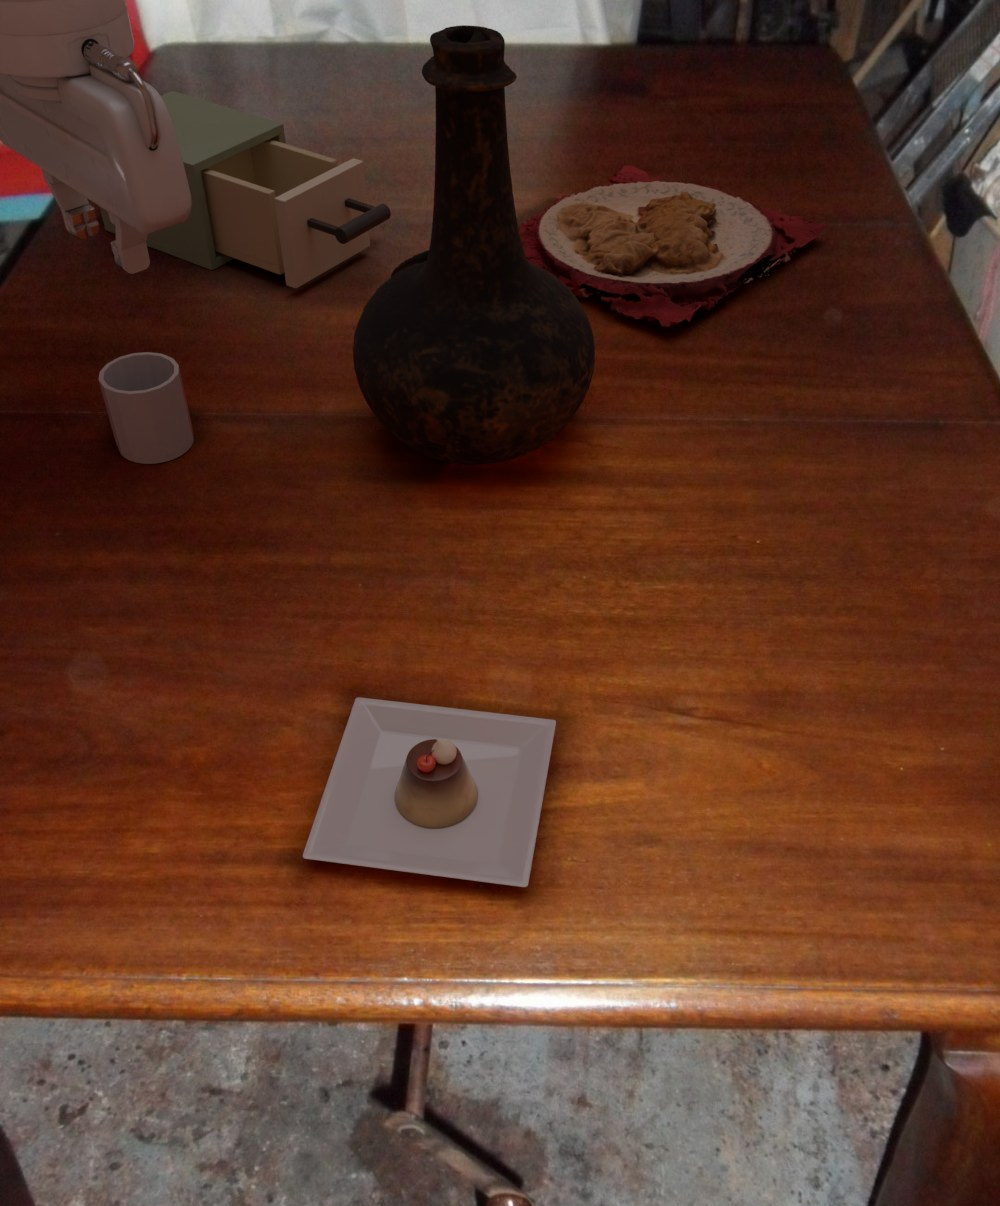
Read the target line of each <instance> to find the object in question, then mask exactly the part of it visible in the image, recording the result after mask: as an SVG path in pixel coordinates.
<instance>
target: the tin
mask: <svg viewBox="0 0 1000 1206" xmlns="http://www.w3.org/2000/svg"><path fill="white" fill-rule="evenodd" d="M181 373H182V372H181V369H180V365H179V364H178V362H177V361H176V360H175V359H174V358H173V357H171V356H169V355H166V354H165V353H158V352H151V351H145V352H134V353H129V354H125V355H121V356H119V357H117V358H115V359H112V360H111V361H109V362H107V363H106V364H105V365H104V366H103V367H102V368H101V369H100V370H99V373H98V384H99V387H100V390H101V394H102V398H103V402H104V405H105V409H106V412H107V417H108V420H109V423H110V427H111V430H112V434H113V437H114V441H115V445H116V446H117V450H118V453H119V454H120V455H121V456H122V457H123V458H124V459H126V460H127V461H130V462H133V463H136V464H142V465H155V464H161V463H166V462H170V461H173V460H175V459H177V458H179V457H181V456H183V455H184V454H185V453H187V452H189V450H190V449H191V448H192V446H193V444H194V440H195V436H194V428H193V424H192V419H191V415H190V414H191V413H190V411H189V410H190V409H189V406H188V401H187V397H186V396H187V395H186V392H185V387H184V383H183V378H182V374H181Z"/></svg>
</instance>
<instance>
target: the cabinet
mask: <svg viewBox="0 0 1000 1206" xmlns="http://www.w3.org/2000/svg"><path fill="white" fill-rule="evenodd" d="M160 96H161V98H162V99H163V101H164V103H165V105H166V107H167V110H168V112H169V115H170V118H171V121H172V124H173V127H174V130H175V134H176V137H177V141H178V145H179V149H180V152H181V156H182V160H183V164H184V168H185V172H186V176H187V180H188V185H189V189H190V194H191V199H192V207H191V211H190V215H189V217H188V219H187V220H186V221H184V222H182V223H180V224H177V225H174V226H172V227H169V228H166V229H163V230H159V231H156V232H153V233H149V234H148V237H147V242H146V245H147V247H149V248H151V249H153V250H157V251H160V252H162V253H165V254H167V255H170V256H172V257H175V258H177V259H180V260H183V261H185V262H188V263H191V264H194V265H197V266H199V267H202V268H204V269H207V270H209V271H214V270H216V269H218V268H220V267H222V266H224V265H226V264H227V263H229V262H231V261H232V260H236V259H235V258H233V257H230V256H227V255H224V254H222V253H219V252H216V251H215V248H214V242H213V237H212V231H211V226H210V220H209V215H208V209H207V203H206V198H205V192H204V187H203V181H202V176H201V171H202V170H204V169H206V168H208V167H210V166H213V165H215V164H217V163H219V162H221V161H223V160H226V159H228V158H230V157H232V156H234V155H236V154H238V153H241V152H243V151H245V150H247V149H249V148H251V147H254V146H256V145H258V144H260V143H262V142H264V141H267V140H269V139H271V140H275V141H278V142H281V143H284V144H287V142H286V141H287V140H286V135H285V127H284V126H285V125H284V123H283V122H280V121H276V120H273V119H269V118H265V117H262V116H260V115H255V114H252V113H249V112H246V111H243V110H238V109H235V108H232V107H228V106H225V105H222V104H219V103H216V102H212V101H209V100H205V99H201V98H198V97H195V96H191V95H189V94H185V93H181V92H178V91H175V90H171V91H168V92H165V93H164V94H160ZM98 208H99V211H100V214H101V215H100V216H101V218H102V223H103V226H104V230H105V231H106V232H109V233H111V234H114V235H116V228H115V224H113V223H111V221H110V218H109V214H108V211H106V210H105V209H103V208H102V207H100V206H98Z"/></svg>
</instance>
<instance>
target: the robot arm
mask: <svg viewBox="0 0 1000 1206" xmlns="http://www.w3.org/2000/svg"><path fill="white" fill-rule="evenodd" d="M132 29H133V28H132V24H131V19H130V16H129V10H128V5H127V0H0V142H1V144H3V145H4V146H6V147H7V148H9V149H10V150H13V152H15V153H16V154H18V155H20V156H22V157H23V158H25V159H26V160H28V161H29V162H31V163H32V164H34V165H35V166H37V167H39V169H41V172H42V176H43V179H44V181H45V183H46V185H47V187H48V189H49V190H50V192H51V194H52V196H53V198H54V201H55V202H56V203H57V205H58V207H59V209H60V211H61V215H62V219H63V221H64V226H65V229H66V231H67V232H68V233H69V234H71V235H73V236H74V237H76V238H77V239H79V240H86V239H88V238H91V237H95V236H97V235H98V234H99V232H100V230H101V227H100V224H99V221H98V215H97V211H96V208H95V207H94V206H93V205H91V204H90V202H89V201H91V202H92V203H94V204H95V205H97V206H98V207H99V206H100V207H102V208H103V209H105V210H106V211H108V214H109V218H110V221H111V223H113V224H115V228H116V234H115V239H114V240H112V241H110V242H109V243H110V247H111V251H112V253H113V255H114V257H113V259H114V263H115V264H116V265H117V266H118V267H120V268H121V269H122V270H123V271H125V272H126V273H127V274H131V275H134V274H137V273H140V272H143V271H145V270H147V269H148V268H149V267H150V265H151V259H150V254H149V250H148V246H147V245H146V242H147V237H148V234H149V233H153V232H156V231H159V230H163V229H166V228H169V227H172V226H174V225H177V224H180V223H182V222H184V221H186V220H187V219H188V217H189V215H190V211H191V207H192V199H191V194H190V189H189V185H188V180H187V176H186V172H185V168H184V164H183V160H182V156H181V152H180V149H179V145H178V141H177V137H176V134H175V130H174V127H173V124H172V121H171V118H170V115H169V112H168V110H167V107H166V105H165V103H164V101H163V99H162V98H161V94H160V93H159V92H158V91H157V89H156V88H155V87H153V86H152V85H151V84H149V83H148V82H146V81H144V80H143V79H142V77H141V76H140V75H139V68H138V66H137V65H136V64H135V63H134V62H133V61H132V60H131V59H129V57H130V56H131V55H132V54H133V53H134V50H135V47H136V46H135V45H136V44H135V39H134V34H133V30H132ZM100 207H99V208H100Z"/></svg>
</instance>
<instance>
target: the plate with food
mask: <svg viewBox="0 0 1000 1206" xmlns="http://www.w3.org/2000/svg"><path fill="white" fill-rule="evenodd" d="M659 173H660V174H661V171H660V172H659ZM608 179H609V180H608V181H609V182H607V183H605V184H600V185H594V186H591V188H587V189H586V191H584V192H576V193H574V192H572V193H569V194H568V195H562V197H560V198H558V197H556V198H554V203H553V204H551V205H548V206H546V207H544V212H542V213H540V214H536V215H531V216H530V219H527V220H526V222H525V223H524V222H521V223H520V224H519V225H518V229H519V234H520V238H521V241H522V246H523V249H524V252H525V255H526V258H527V260H528V262H530V263H532V264H534V265H537V266H539V267H541V268H543V269H544V270H546V271H548V272H549V273H551V274H553V275H554V276H555V277H557V278H558V279H559V280H560V281H561V282H562V283H564V284H565V285H566V286H567V287H568V288H569V289H570V290H571V292H572V293H573V294H574V295H575V297H576V298H577V297H578V298H583V299H585V298H589V297H590V296H593V295H594V293H596V294H597V295H600V294H601V293H600V292H598V291H603V292H606V294H603V295H602V296H600V301H603V302H606V303H610V302H611V304H610V310H611V312H617V313H618V314H620V315H621V314H622V315H623V316H624V317H626V318H632V317H633V319H635V320H643V319H647V321H648V322H652V321H654V322H653V324H656V321H658V323H659V325H660V327H661V328H669V327H671V326H675V325H679V324H680V323H681V322H683V321H684V320H685V321H687V322H688V323H689V322H691V320H692V318H693V315H694V313H695V312H696V311H698V310H699V309H700V308H702V309H703V310H707V311H711V309H712V308H716V305H718V302H719V300H721V299H723V298H724V296H725V297H727V296H728V295H729V294H731V293H733V292H734V291H735V290H736V289H738V288H739V287H740V286H741V285H742V284H744V285H745V284H747V285H748V284H749V283H750V281H751V282H753V281H754V278H753V277H751V276H750V277H749V276H747V277H745V278H743V279H742V280H739V279H740V278H741V276H742V275H743V274H744V273H746V272H747V271H748V270H749V269H750V268H751V267H752V266H753V265H755V264H757V263H759V262H760V261H761V263H760V265H761V266H762V267H761V269H762V271H763V272H762V273H760V274H758V275H757V277H758V278H760V279H761V278H762V276H763V274H764V276H765V277H766V276H768V277H769V276H770V275H771V274H770V273H769V271H770V269H772V268H774V267H776V266H777V265H779V266H781V264H788V262H789V261H791V257H793V254H795V253H796V250H798V251H799V249H801V248H802V247H804V246H806V245H807V244H809V243H810V242H812V241H813V240H815V239H816V238H817V237H818V236H820V234H821V233H822V232H824V230H825V228H826V225H827V224H826V223H825V221H823V222H821V223H820V224H819V223H818V222H817V220H816V219H814V218H813V219H809V220H805V216H803V215H794V216H790V215H788V214H785V213H782V212H780V211H779V210H778V209H776V210H775V211H774V210H771V207H770V206H767V207H765V208H764V209H762V208H761V206H759V205H758V202H753V201H752V200H750V199H747V198H742V197H741V196H740V195H732V194H728V193H727V192H725V190H724V191H721V189H720V188H718V186H717V185H714V186H713V185H708V184H704V185H702V184H701V183H697V184H695V183H692V182H688V181H685V182H682V181H664V180H663V179H662V177H660V176H656V177H655V178H654V177H653V178H650V176H649V174H648V172H646V171H645V170H641V169H640V168H638V167H636V166H635V165H624V166H623V167H622V168H621V170H620V171H619V172H618V173H617V172H613V177H612V176H610V177H609V178H608ZM765 273H769V274H765ZM738 280H739V281H738ZM581 285H586V286H589V287H591V288H594V289H596V290H598V291H594V292H592V291H590V290H587V287H586V286H581ZM609 293H610V294H609ZM630 294H631V295H632V294H633V295H635V294H636V295H637V296H638V297H639V299H638V298H635V299H632V300H626V298H623V295H630Z"/></svg>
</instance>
